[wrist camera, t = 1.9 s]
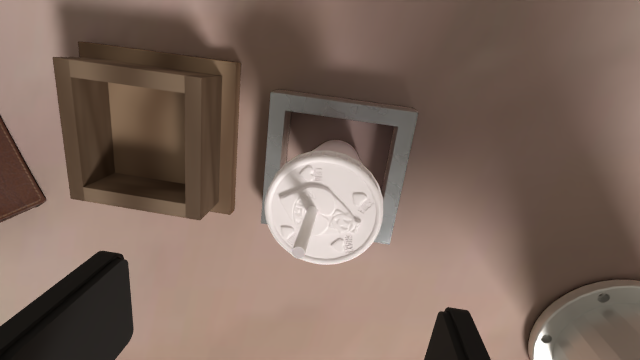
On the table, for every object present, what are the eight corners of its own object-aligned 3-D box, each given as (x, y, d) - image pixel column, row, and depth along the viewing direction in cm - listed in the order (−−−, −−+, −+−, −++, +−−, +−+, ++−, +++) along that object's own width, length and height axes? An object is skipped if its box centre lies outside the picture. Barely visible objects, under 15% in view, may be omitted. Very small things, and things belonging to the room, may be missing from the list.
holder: (413, 107, 25) (418, 112, 23) (387, 229, 29) (389, 244, 26) (278, 89, 26) (270, 92, 24) (269, 210, 29) (260, 223, 27)
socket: (240, 62, 26) (217, 63, 21) (234, 209, 30) (213, 234, 25) (88, 42, 26) (35, 38, 22) (101, 188, 30) (59, 208, 26)
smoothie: (310, 109, 26) (258, 159, 13) (390, 139, 26) (418, 218, 13) (285, 184, 28) (219, 291, 15) (358, 211, 28) (356, 341, 15)
